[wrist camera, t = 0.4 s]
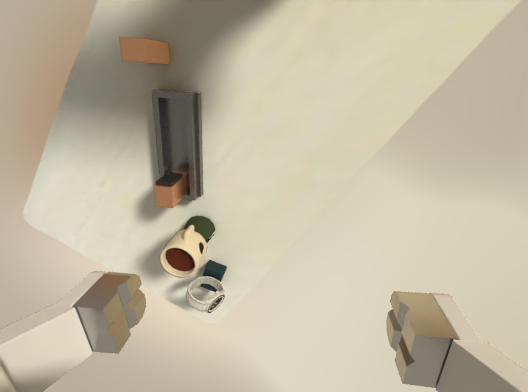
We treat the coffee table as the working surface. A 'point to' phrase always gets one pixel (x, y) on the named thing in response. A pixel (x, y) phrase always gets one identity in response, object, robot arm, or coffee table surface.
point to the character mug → (187, 247)
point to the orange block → (144, 50)
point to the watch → (211, 282)
